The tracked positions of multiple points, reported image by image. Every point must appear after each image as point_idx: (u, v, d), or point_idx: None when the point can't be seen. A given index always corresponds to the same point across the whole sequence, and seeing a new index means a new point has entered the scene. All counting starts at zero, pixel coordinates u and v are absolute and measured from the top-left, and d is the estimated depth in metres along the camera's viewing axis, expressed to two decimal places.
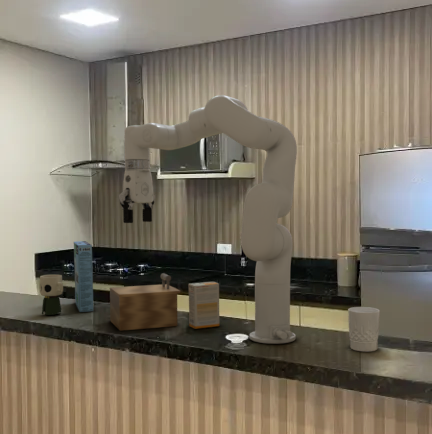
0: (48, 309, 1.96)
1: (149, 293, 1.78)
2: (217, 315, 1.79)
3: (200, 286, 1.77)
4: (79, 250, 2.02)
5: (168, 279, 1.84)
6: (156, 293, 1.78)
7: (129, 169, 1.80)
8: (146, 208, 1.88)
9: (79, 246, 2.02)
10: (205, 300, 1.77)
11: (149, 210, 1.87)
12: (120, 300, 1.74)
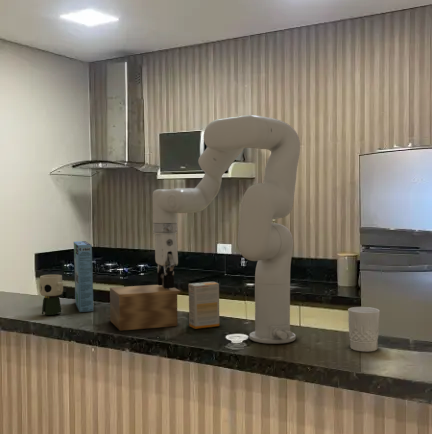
0: (48, 309, 1.96)
1: (149, 293, 1.78)
2: (217, 315, 1.79)
3: (200, 286, 1.77)
4: (79, 250, 2.02)
5: None
6: (156, 293, 1.78)
7: (167, 233, 1.82)
8: (162, 272, 1.89)
9: (79, 246, 2.02)
10: (204, 300, 1.77)
11: None
12: (120, 300, 1.74)
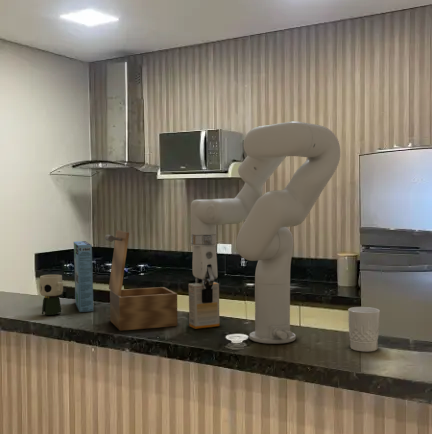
0: (48, 309, 1.96)
1: (123, 265, 1.74)
2: (217, 315, 1.79)
3: (200, 286, 1.77)
4: (79, 250, 2.02)
5: (112, 238, 1.77)
6: (124, 257, 1.74)
7: (207, 245, 1.75)
8: None
9: (79, 246, 2.02)
10: None
11: None
12: (120, 300, 1.74)
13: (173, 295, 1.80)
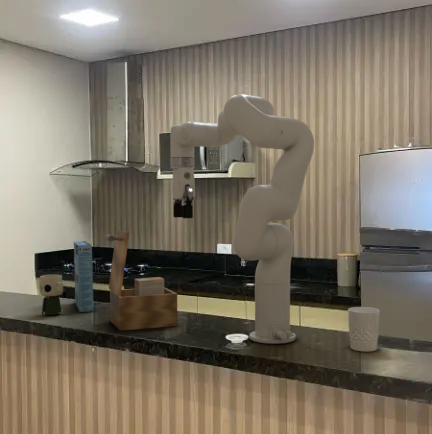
0: (48, 309, 1.96)
1: (123, 265, 1.74)
2: None
3: (145, 281, 1.82)
4: (79, 250, 2.02)
5: (112, 238, 1.77)
6: (124, 257, 1.74)
7: (185, 166, 1.87)
8: (178, 204, 1.95)
9: (79, 246, 2.02)
10: None
11: (182, 206, 1.95)
12: (120, 300, 1.74)
13: (173, 295, 1.80)
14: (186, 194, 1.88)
